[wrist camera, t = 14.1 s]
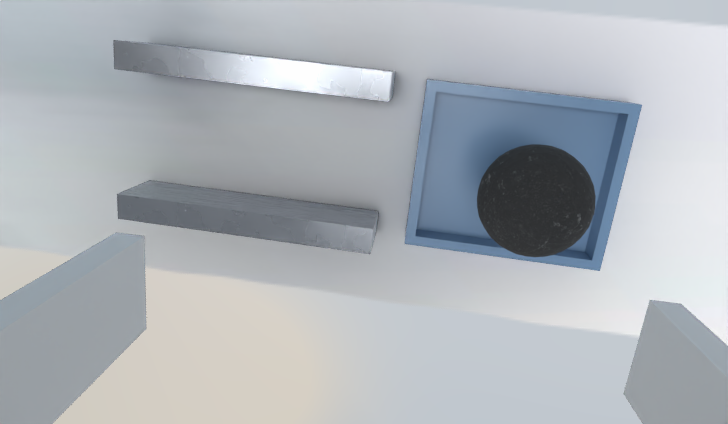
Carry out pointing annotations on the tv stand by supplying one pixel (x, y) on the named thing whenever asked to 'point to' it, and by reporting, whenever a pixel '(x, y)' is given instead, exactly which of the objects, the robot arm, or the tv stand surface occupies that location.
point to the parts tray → (495, 137)
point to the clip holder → (242, 209)
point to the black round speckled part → (536, 200)
